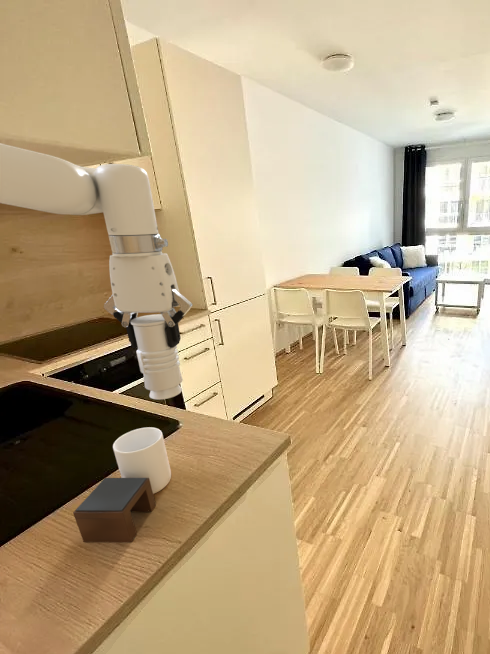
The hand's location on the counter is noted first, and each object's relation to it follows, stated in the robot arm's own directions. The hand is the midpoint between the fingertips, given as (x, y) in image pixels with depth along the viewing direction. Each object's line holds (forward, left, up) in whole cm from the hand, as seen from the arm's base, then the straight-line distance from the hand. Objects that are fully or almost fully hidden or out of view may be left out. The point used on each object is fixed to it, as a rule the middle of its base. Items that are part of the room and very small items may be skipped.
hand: (156, 344), depth 67 cm
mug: (-4, -4, -27) cm, 28 cm away
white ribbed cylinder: (0, 0, -10) cm, 10 cm away
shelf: (-3, -16, -27) cm, 31 cm away
